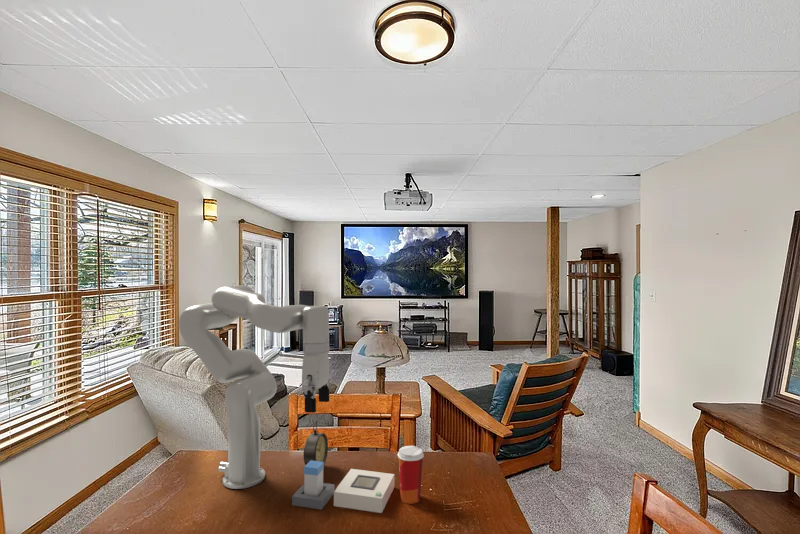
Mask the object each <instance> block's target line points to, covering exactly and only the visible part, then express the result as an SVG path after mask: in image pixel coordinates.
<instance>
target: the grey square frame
mask: <svg viewBox="0 0 800 534" xmlns="http://www.w3.org/2000/svg"><path fill="white" fill-rule="evenodd" d="M334 491H335V484H333V483H328V482H327V483H326V482H323V492H322V493H321V494H320V496H319V497H318V496H311V495H304V483H303V484H301V486H300V487H299V488H298V489H297V490H296V492H294V494H292V496H291V505H292V506H294V507H295V506H296V507H302V508H309V509H314V510H315V509H316V510H320V511H321V510H323V509H324V507H326V505H327V504H328V502H329V500H330V499H331V498H332V497H333V496H334Z"/></svg>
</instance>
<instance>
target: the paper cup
mask: <svg viewBox="0 0 800 534" xmlns="http://www.w3.org/2000/svg"><path fill="white" fill-rule="evenodd" d="M396 455H397V457H398V469H399V470H398V471H399V492H400V500H401V501H402V503H405V504H408V505H412V504H417V503H419V502H420V501H421V500H420V499H421V492H422V491H421V490H422V477H423V475H422V473H423V462H424V461H423V459H424V456H425V455H424V452H423V449H422V448H420V447H418V446H415V445H405V446H402V447H400V448H399V450H398V452H397V454H396Z"/></svg>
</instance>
